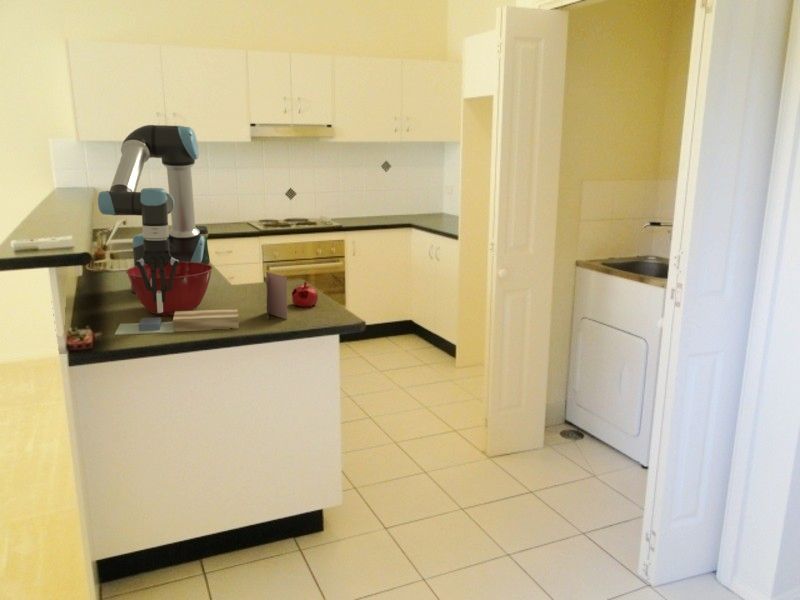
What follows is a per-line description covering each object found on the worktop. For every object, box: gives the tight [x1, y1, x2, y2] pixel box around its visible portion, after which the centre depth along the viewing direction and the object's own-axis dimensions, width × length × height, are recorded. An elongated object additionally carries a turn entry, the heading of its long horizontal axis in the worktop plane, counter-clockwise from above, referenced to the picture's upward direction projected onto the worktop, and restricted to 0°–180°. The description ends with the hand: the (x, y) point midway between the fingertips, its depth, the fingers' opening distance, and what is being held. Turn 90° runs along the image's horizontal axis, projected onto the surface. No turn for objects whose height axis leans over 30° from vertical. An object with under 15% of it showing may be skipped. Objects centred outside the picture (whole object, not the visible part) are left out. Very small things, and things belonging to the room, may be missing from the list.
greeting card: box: [263, 271, 288, 320], centre depth 218 cm, size 11×7×15 cm, turn 13°
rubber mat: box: [114, 321, 175, 336], centre depth 201 cm, size 11×17×1 cm, turn 106°
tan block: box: [172, 308, 240, 333], centre depth 206 cm, size 10×20×4 cm, turn 106°
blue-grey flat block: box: [138, 316, 162, 331], centre depth 201 cm, size 8×6×2 cm
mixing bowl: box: [125, 262, 213, 317], centre depth 221 cm, size 28×28×16 cm
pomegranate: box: [291, 280, 319, 308], centre depth 236 cm, size 10×10×9 cm
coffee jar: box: [195, 225, 211, 265], centre depth 305 cm, size 10×8×19 cm
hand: (160, 311), depth 201 cm, fingers closed
